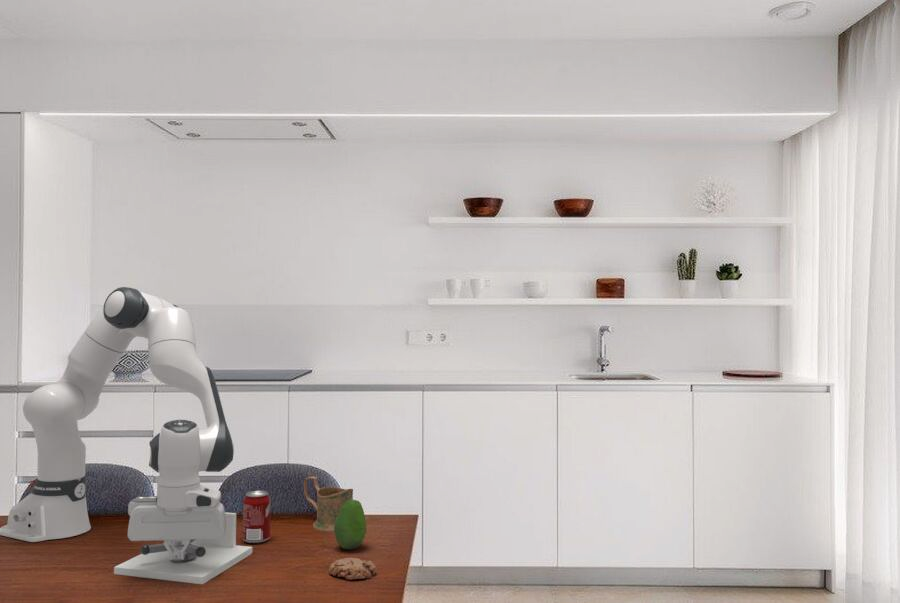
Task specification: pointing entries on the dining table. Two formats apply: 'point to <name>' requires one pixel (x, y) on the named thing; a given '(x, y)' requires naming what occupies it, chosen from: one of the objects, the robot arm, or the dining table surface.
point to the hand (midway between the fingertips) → (177, 559)
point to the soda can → (256, 517)
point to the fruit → (350, 525)
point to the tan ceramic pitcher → (327, 504)
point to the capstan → (190, 551)
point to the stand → (194, 571)
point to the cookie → (352, 568)
